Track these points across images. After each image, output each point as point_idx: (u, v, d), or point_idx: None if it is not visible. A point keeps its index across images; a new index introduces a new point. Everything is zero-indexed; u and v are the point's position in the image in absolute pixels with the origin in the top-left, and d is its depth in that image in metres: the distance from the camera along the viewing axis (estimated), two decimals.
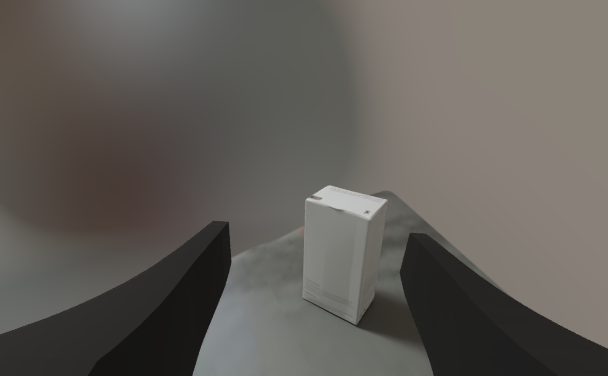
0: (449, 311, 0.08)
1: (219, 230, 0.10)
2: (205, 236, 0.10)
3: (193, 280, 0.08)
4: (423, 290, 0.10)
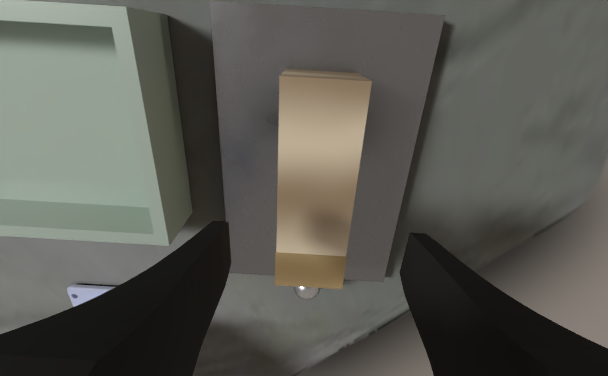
0: (449, 311, 0.08)
1: (219, 230, 0.10)
2: (205, 236, 0.10)
3: (193, 280, 0.08)
4: (423, 290, 0.10)
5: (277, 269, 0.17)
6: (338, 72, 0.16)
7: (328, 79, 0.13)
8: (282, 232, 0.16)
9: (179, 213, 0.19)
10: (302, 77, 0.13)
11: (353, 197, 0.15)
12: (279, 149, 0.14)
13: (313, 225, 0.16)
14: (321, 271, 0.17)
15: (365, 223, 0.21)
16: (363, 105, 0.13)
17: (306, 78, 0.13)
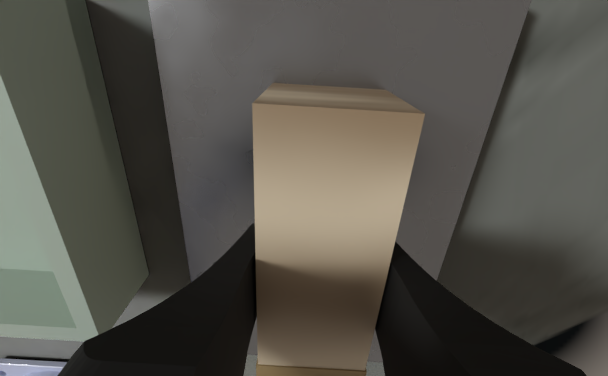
0: (396, 308, 0.08)
1: None
2: (250, 239, 0.10)
3: (246, 283, 0.08)
4: None
5: None
6: (354, 89, 0.10)
7: (343, 110, 0.07)
8: (266, 340, 0.10)
9: (122, 287, 0.13)
10: (295, 106, 0.07)
11: (380, 294, 0.09)
12: (257, 224, 0.08)
13: (315, 332, 0.10)
14: None
15: None
16: (406, 155, 0.07)
17: (302, 108, 0.07)
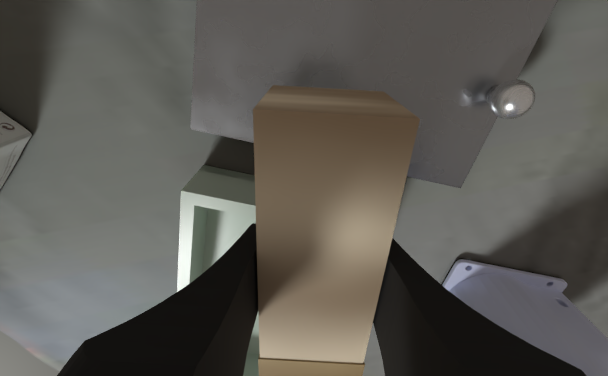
0: (396, 308, 0.08)
1: None
2: (250, 239, 0.10)
3: (246, 283, 0.08)
4: None
5: None
6: (353, 91, 0.10)
7: (341, 115, 0.07)
8: (267, 335, 0.11)
9: None
10: (294, 111, 0.07)
11: (377, 291, 0.10)
12: (258, 225, 0.09)
13: (315, 327, 0.10)
14: None
15: None
16: (401, 158, 0.08)
17: (301, 114, 0.07)
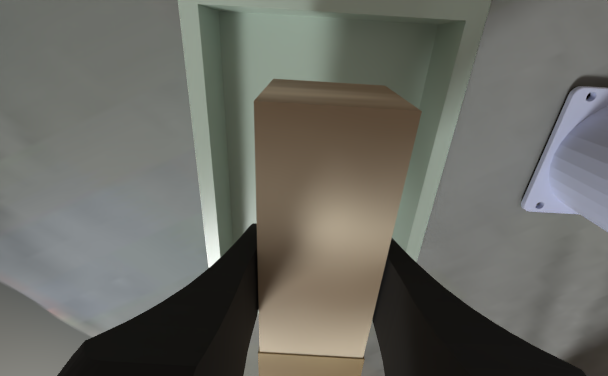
0: (396, 308, 0.08)
1: None
2: (250, 239, 0.10)
3: (246, 283, 0.08)
4: None
5: (262, 372, 0.12)
6: (354, 84, 0.10)
7: (342, 107, 0.07)
8: (267, 329, 0.11)
9: None
10: (295, 103, 0.07)
11: (378, 285, 0.10)
12: (258, 218, 0.09)
13: (315, 321, 0.10)
14: (326, 375, 0.12)
15: None
16: (403, 151, 0.07)
17: (302, 105, 0.07)
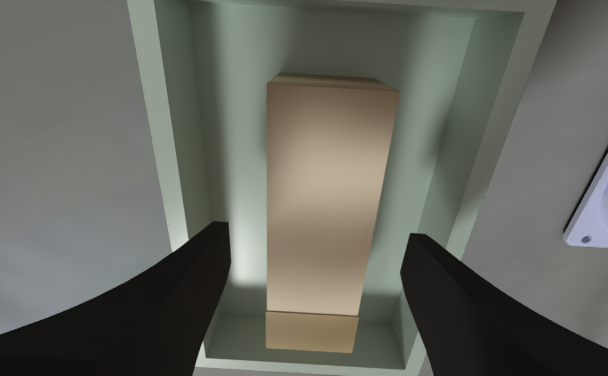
0: (449, 311, 0.08)
1: (219, 230, 0.10)
2: (205, 236, 0.10)
3: (193, 280, 0.08)
4: (424, 290, 0.10)
5: (268, 330, 0.13)
6: (348, 77, 0.12)
7: (337, 89, 0.09)
8: (274, 288, 0.12)
9: None
10: (299, 86, 0.09)
11: (369, 245, 0.11)
12: (268, 184, 0.10)
13: (315, 279, 0.12)
14: (325, 334, 0.13)
15: None
16: (386, 125, 0.09)
17: (305, 87, 0.09)
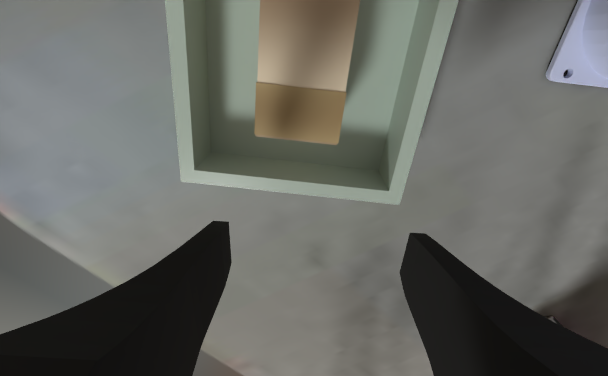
0: (449, 311, 0.08)
1: (219, 230, 0.10)
2: (205, 236, 0.10)
3: (193, 280, 0.08)
4: (423, 290, 0.10)
5: (258, 110, 0.14)
6: None
7: None
8: (265, 49, 0.13)
9: None
10: None
11: None
12: None
13: (306, 39, 0.12)
14: (313, 116, 0.14)
15: None
16: None
17: None
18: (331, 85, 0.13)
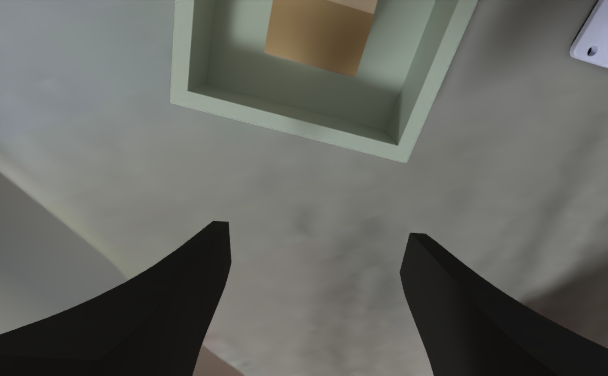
0: (449, 311, 0.08)
1: (219, 230, 0.10)
2: (205, 236, 0.10)
3: (193, 280, 0.08)
4: (423, 290, 0.10)
5: (272, 20, 0.12)
6: None
7: None
8: None
9: None
10: None
11: None
12: None
13: None
14: (333, 37, 0.12)
15: None
16: None
17: None
18: (359, 3, 0.12)
